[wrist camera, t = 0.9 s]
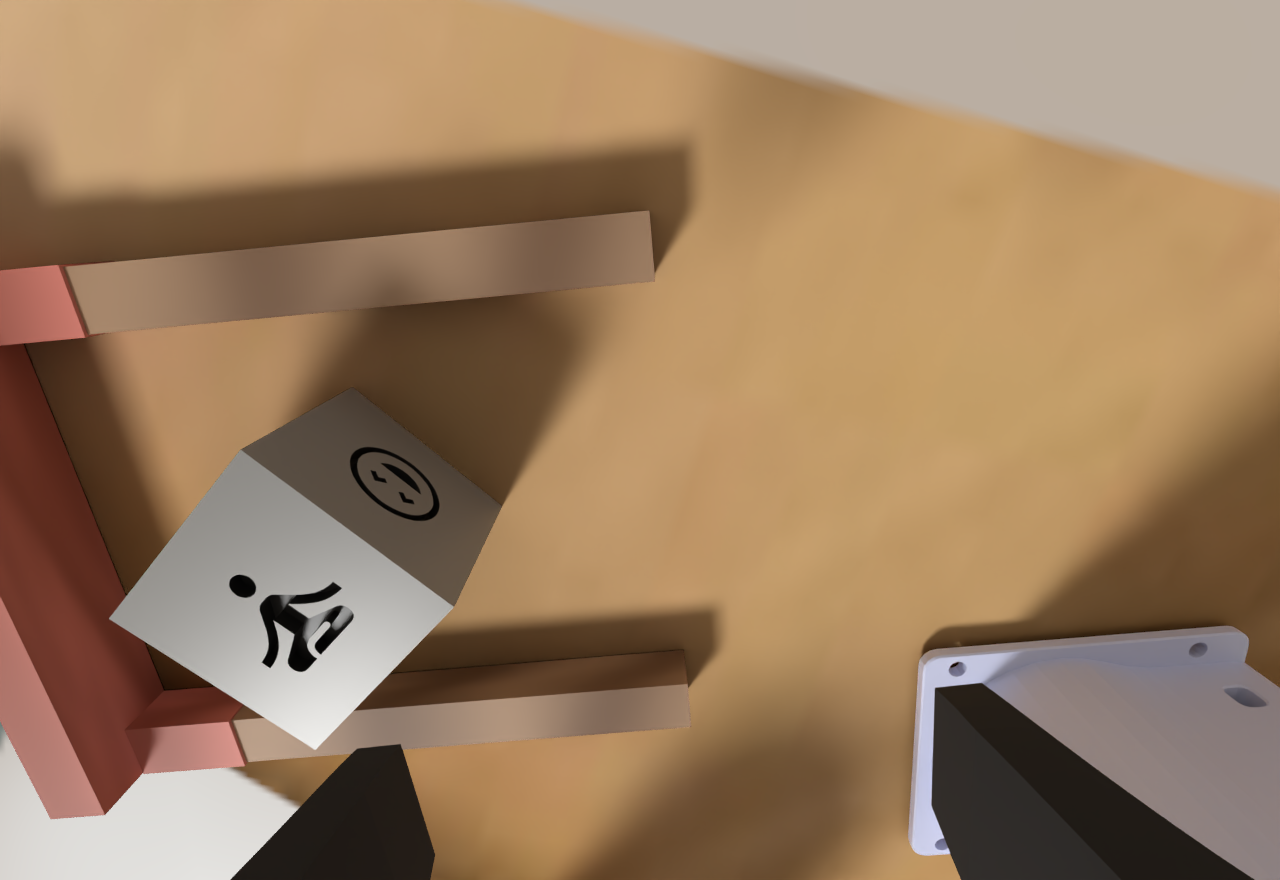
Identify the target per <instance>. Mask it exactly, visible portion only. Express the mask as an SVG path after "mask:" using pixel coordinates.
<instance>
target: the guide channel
mask: <svg viewBox="0 0 1280 880" xmlns="http://www.w3.org/2000/svg"><path fill="white" fill-rule="evenodd" d="M654 281H655V274H654V262H653V250H652V237H651V225H650V213H649V210H648V211H638V212H628V213H617V214H607V215H597V216H586V217H576V218H565V219H555V220H545V221H534V222H524V223H514V224H503V225H493V226H482V227H472V228H462V229H451V230H441V231H431V232H420V233H410V234H400V235H389V236H379V237H368V238H358V239H348V240H337V241H327V242H317V243H306V244H296V245H285V246H275V247H265V248H254V249H244V250H234V251H223V252H213V253H202V254H192V255H182V256H171V257H161V258H151V259H140V260H130V261H120V262H115V261H108V262H93V263H79V264H64V265H52V266H41V267H31V268H21V269H10V270H0V722H1V724H2V726H3V728H4V730H5V732H6V733H7V735H8V737H9V739H10V741H11V743H12V745H13V747H14V749H15V751H16V753H17V755H18V757H19V759H20V761H21V762H22V764H23V766H24V768H25V770H26V772H27V774H28V776H29V778H30V780H31V782H32V784H33V786H34V787H35V789H36V792H37V793H38V795H39V797H40V799H41V801H42V803H43V805H44V807H45V809H46V811H47V813H48V815H49V817H50V819H58V818H72V817H84V816H98V815H105V814H106V813H107V812H108V811H109V810H110V809H111V808H112V807H113V805H114V804H115V803H116V802H117V801H118V800H119V799H120V798H121V796H122V795H123V794H124V793H125V792H126V791H127V790H128V789H129V788H130V787H131V785H132V784H133V783H134V782H135V781H136V780H137V779H138V778H139V777H140V775H141V774H142V773H144V774H149V773H161V772H174V771H187V770H199V769H212V768H225V767H238V766H245V765H246V764H247V762H251V761H263V760H276V759H289V758H302V757H314V756H327V755H340V754H352V753H353V752H354V751H355V750H356V749H357V748H367V747H376V746H386V745H395V744H401V747H402V750H403V749H416V748H429V747H442V746H454V745H467V744H480V743H492V742H505V741H518V740H531V739H543V738H556V737H569V736H582V735H594V734H607V733H620V732H632V731H645V730H658V729H671V728H683V727H691V719H690V706H689V694H688V682H687V674H686V665H685V656H684V650H678V651H665V652H653V653H641V654H628V655H616V656H604V657H591V658H579V659H567V660H554V661H542V662H530V663H517V664H505V665H493V666H481V667H468V668H456V669H444V670H431V671H419V672H407V673H394V674H389V675H388V676H387V677H386V678H385V679H384V680H383V681H382V682H381V683H380V684H379V685H378V686H377V687H376V688H375V689H374V690H373V691H372V692H371V693H370V694H369V695H368V696H367V697H366V698H365V699H364V700H363V701H362V702H361V703H360V704H359V705H358V707H357V708H356V709H355V710H354V711H353V712H352V713H351V714H350V715H349V716H348V717H347V718H346V719H345V720H344V721H343V722H342V723H341V724H340V725H339V726H338V727H337V728H336V729H335V730H334V731H333V732H332V733H331V734H330V735H329V736H328V737H327V738H326V740H325V741H324V742H323V743H322V744H321V745H320V746H319V747H318V748H317V749H316V750H315V749H313V748H311V747H310V746H308V745H307V744H305V743H304V742H302V741H300V740H299V739H297V738H296V737H294V736H293V735H291V734H289V733H288V732H286V731H285V730H283V729H282V728H280V727H278V726H277V725H275V724H274V723H272V722H271V721H269V720H267V719H266V718H264V717H263V716H261V715H259V714H258V713H256V712H255V711H253V710H252V709H250V708H248V707H247V706H245V705H244V704H242V703H241V702H239V701H237V700H236V699H234V698H233V697H231V696H230V695H228V694H226V693H225V692H223V691H222V690H220V689H219V688H217V687H205V688H193V689H181V690H168V691H164V689H163V687H162V684H161V682H160V679H159V677H158V674H157V672H156V669H155V667H154V665H153V662H152V660H151V657H150V655H149V652H148V650H147V647H146V645H145V642H144V641H143V640H141V639H140V638H138V637H137V636H135V635H134V634H132V633H130V632H129V631H127V630H126V629H124V628H123V627H121V626H119V625H118V624H116V623H115V622H113V621H112V620H110V619H109V618H110V617H111V615H112V614H113V613H114V612H115V610H116V609H117V608H118V606H119V605H120V604H121V603H122V601H123V600H124V599H125V597H126V595H125V593H124V591H123V588H122V586H121V583H120V581H119V578H118V576H117V573H116V571H115V568H114V566H113V563H112V561H111V558H110V556H109V554H108V551H107V549H106V546H105V544H104V541H103V539H102V536H101V534H100V531H99V529H98V526H97V524H96V521H95V519H94V517H93V514H92V512H91V509H90V507H89V504H88V502H87V499H86V497H85V494H84V492H83V489H82V487H81V484H80V482H79V480H78V477H77V475H76V472H75V470H74V467H73V465H72V462H71V460H70V457H69V455H68V452H67V450H66V448H65V445H64V443H63V440H62V438H61V435H60V433H59V430H58V428H57V425H56V423H55V420H54V418H53V415H52V413H51V411H50V408H49V406H48V403H47V401H46V398H45V396H44V393H43V391H42V388H41V386H40V383H39V381H38V378H37V376H36V374H35V371H34V369H33V366H32V364H31V361H30V359H29V356H28V354H27V351H26V349H25V346H24V344H23V343H33V342H43V341H54V340H65V339H75V338H85V337H90V336H95V335H100V334H105V333H111V332H122V331H132V330H143V329H153V328H164V327H175V326H185V325H196V324H207V323H217V322H228V321H239V320H249V319H260V318H271V317H281V316H292V315H302V314H313V313H324V312H334V311H345V310H356V309H366V308H377V307H388V306H398V305H409V304H419V303H430V302H441V301H451V300H462V299H473V298H483V297H494V296H505V295H515V294H526V293H537V292H547V291H558V290H568V289H579V288H590V287H600V286H611V285H622V284H632V283H643V282H654Z"/></svg>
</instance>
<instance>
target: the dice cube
mask: <svg viewBox="0 0 1280 880" xmlns="http://www.w3.org/2000/svg"><path fill="white" fill-rule="evenodd" d="M501 508H502V506H501V505H500V504H499V503H498V502H496V501H495V500H494V499H493V498H491V497H490V496H489V495H487V494H486V493H485V492H484V491H482V490H481V489H480V488H479V487H477V486H476V485H475V484H474V483H472V482H471V481H470V480H469V479H467V478H466V477H465V476H464V475H462V474H461V473H460V472H459V471H457V470H456V469H455V468H454V467H452V466H451V465H450V464H449V463H447V462H446V461H445V460H444V459H442V458H441V457H440V456H439V455H437V454H436V453H435V452H433V451H432V450H431V449H430V448H428V447H427V446H426V445H425V444H423V443H422V442H421V441H420V440H418V439H417V438H416V437H415V436H413V435H412V434H411V433H410V432H408V431H407V430H406V429H405V428H403V427H402V426H401V425H400V424H398V423H397V422H396V421H395V420H393V419H392V418H391V417H390V416H388V415H387V414H386V413H385V412H383V411H382V410H381V409H379V408H378V407H377V406H376V405H374V404H373V403H372V402H371V401H369V400H368V399H367V398H366V397H364V396H363V395H362V394H361V393H359V392H358V391H357V390H356V389H354V388H353V387H351V388H350V389H348V390H346V391H344V392H342V393H341V394H339V395H337V396H335V397H334V398H332V399H330V400H328V401H326V402H325V403H323V404H321V405H319V406H318V407H316V408H314V409H312V410H310V411H309V412H307V413H305V414H303V415H302V416H300V417H298V418H296V419H294V420H293V421H291V422H289V423H287V424H286V425H284V426H282V427H280V428H278V429H277V430H275V431H273V432H271V433H270V434H268V435H266V436H264V437H262V438H261V439H259V440H257V441H255V442H253V443H252V444H250V445H248V446H246V447H245V448H243V449H241V450H240V451H239V452H238V454H237V455H236V456H235V458H234V459H233V460H232V461H231V463H230V464H229V465H228V467H227V468H226V469H225V470H224V472H223V473H222V474H221V476H220V477H219V478H218V479H217V481H216V482H215V483H214V484H213V486H212V487H211V488H210V490H209V491H208V492H207V493H206V495H205V496H204V497H203V499H202V500H201V501H200V502H199V504H198V505H197V506H196V508H195V509H194V510H193V511H192V513H191V514H190V515H189V517H188V518H187V519H186V520H185V522H184V523H183V524H182V526H181V527H180V528H179V529H178V531H177V532H176V533H175V535H174V536H173V537H172V538H171V540H170V541H169V542H168V544H167V545H166V546H165V547H164V549H163V550H162V551H161V552H160V554H159V555H158V556H157V558H156V559H155V560H154V561H153V563H152V564H151V565H150V567H149V568H148V569H147V570H146V572H145V573H144V574H143V576H142V577H141V578H140V579H139V581H138V582H137V583H136V585H135V586H134V587H133V588H132V590H131V591H130V592H129V594H128V595H127V596H126V597H125V599H124V600H123V601H122V603H121V604H120V605H119V606H118V608H117V609H116V610H115V612H114V613H113V614H112V615H111V617H110V618H109V619H110V620H112V621H113V622H115V623H116V624H118V625H119V626H121V627H123V628H124V629H126V630H127V631H129V632H130V633H132V634H134V635H135V636H137V637H138V638H140V639H141V640H143V641H145V642H146V643H148V644H149V645H151V646H152V647H154V648H156V649H157V650H159V651H160V652H162V653H164V654H165V655H167V656H168V657H170V658H171V659H173V660H175V661H176V662H178V663H179V664H181V665H182V666H184V667H186V668H187V669H189V670H190V671H192V672H193V673H195V674H197V675H198V676H200V677H201V678H203V679H204V680H206V681H208V682H209V683H211V684H212V685H214V686H215V687H217V688H219V689H220V690H222V691H223V692H225V693H226V694H228V695H230V696H231V697H233V698H234V699H236V700H237V701H239V702H241V703H242V704H244V705H245V706H247V707H248V708H250V709H252V710H253V711H255V712H256V713H258V714H259V715H261V716H263V717H264V718H266V719H267V720H269V721H271V722H272V723H274V724H275V725H277V726H278V727H280V728H282V729H283V730H285V731H286V732H288V733H289V734H291V735H293V736H294V737H296V738H297V739H299V740H300V741H302V742H304V743H305V744H307V745H308V746H310V747H311V748H313V749H315V750H316V749H317V748H318V747H319V746H320V745H321V744H322V743H323V742H324V741H325V740H326V738H327V737H328V736H329V735H330V734H331V733H332V732H333V731H334V730H335V729H336V728H337V727H338V726H339V725H340V724H341V723H342V722H343V721H344V720H345V719H346V718H347V717H348V716H349V715H350V714H351V713H352V712H353V711H354V710H355V709H356V708H357V707H358V705H359V704H360V703H361V702H362V701H363V700H364V699H365V698H366V697H367V696H368V695H369V694H370V693H371V692H372V691H373V690H374V689H375V688H376V687H377V686H378V685H379V684H380V683H381V682H382V681H383V680H384V679H385V678H386V677H387V676H388V675H389V674H390V672H391V671H392V670H393V669H394V668H395V667H396V666H397V665H398V664H399V663H400V662H401V661H402V660H403V659H404V658H405V657H406V656H407V655H408V654H409V653H410V652H411V651H412V650H413V649H414V648H415V647H416V646H417V645H418V644H419V643H420V642H421V641H422V639H423V638H424V637H425V636H426V635H427V634H428V633H429V632H430V631H431V630H432V629H433V628H434V627H435V626H436V625H437V624H438V623H439V622H440V621H441V620H442V619H443V618H444V617H445V616H446V615H447V614H448V613H449V612H450V611H451V610H452V609H453V608H454V606H455V604H456V602H457V600H458V598H459V595H460V593H461V591H462V589H463V587H464V585H465V583H466V581H467V579H468V577H469V575H470V572H471V570H472V568H473V566H474V564H475V562H476V560H477V558H478V556H479V554H480V552H481V549H482V547H483V545H484V543H485V541H486V539H487V537H488V535H489V533H490V531H491V529H492V526H493V524H494V522H495V520H496V518H497V516H498V514H499V512H500V510H501Z"/></svg>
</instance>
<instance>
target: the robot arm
mask: <svg viewBox="0 0 1280 880" xmlns="http://www.w3.org/2000/svg"><path fill="white" fill-rule="evenodd" d="M1248 647H1249V639H1248V637H1247V635H1246V634H1244V633H1243V632H1241V631H1240V630H1238V629H1236V628H1235V627H1233V626H1215V627H1203V628H1190V629H1178V630H1166V631H1153V632H1141V633H1128V634H1116V635H1104V636H1091V637H1079V638H1066V639H1054V640H1042V641H1029V642H1017V643H1004V644H992V645H979V646H967V647H955V648H942V649H934V650H930V651H928V652H927V653H925V654H924V655H923V656H922V657H921V659H920V661H919V667H918V684H917V700H916V716H915V733H914V749H913V766H912V782H911V799H910V815H909V832H908V838H909V842H910V844H911V847H912V849H913V850H914V851H915V852H916V853H918V854H920V855H940V854H951V856H952V859H953V861H954V863H955V866H956V868H957V871H958V873H959V875H960V878H961V880H1280V688H1279V687H1278V686H1277V685H1275V684H1274V683H1272V682H1271V681H1270V680H1268V679H1267V678H1265V677H1264V676H1263V675H1261V674H1260V673H1258V672H1257V671H1256V670H1254V669H1253V668H1252V667H1250V666H1249V665H1247V664H1246V663H1244V662H1245V658H1246V654H1247V651H1248ZM956 662H959V664H958V665H957V666H955V667H952V668H950V666H951V665H952V664H953V663H956ZM434 857H435V853H434V850H433V847H432V843H431V840H430V837H429V834H428V830H427V827H426V824H425V821H424V817H423V814H422V811H421V808H420V805H419V801H418V798H417V795H416V792H415V788H414V785H413V782H412V779H411V776H410V772H409V769H408V766H407V763H406V759H405V756H404V753H403V750H402V747H401V744H395V745H386V746H376V747H367V748H357V749H356V750H355V751H354V752H353V753H352V754H351V755H350V756H349V757H348V758H347V759H346V760H345V761H344V762H343V763H342V764H341V765H340V766H339V767H338V768H337V769H336V770H335V771H334V772H333V773H332V774H331V775H330V776H329V777H328V778H327V779H326V781H325V782H324V783H323V784H322V785H321V786H320V787H319V788H318V789H317V790H316V791H315V792H314V793H313V794H312V795H311V796H310V797H309V798H308V799H307V800H306V802H305V803H304V804H303V805H302V806H301V807H300V808H299V809H298V810H297V811H296V812H295V813H294V814H293V815H292V817H290V818H289V820H287V822H286V823H285V824H284V825H283V826H282V827H281V828H280V829H279V830H278V831H277V832H276V833H275V834H274V835H273V836H272V837H271V838H270V840H268V841H267V842H266V844H265V845H264V846H263V847H262V848H261V849H260V850H259V851H258V852H257V853H256V854H255V855H254V856H253V857H252V858H251V859H250V860H249V861H248V862H247V863H246V864H245V865H244V866H243V867H242V868H241V869H240V870H239V871H238V872H237V874H236V875H235V876H234V877H233V878H232V879H231V880H430V878H431V873H432V868H433V862H434Z"/></svg>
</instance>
